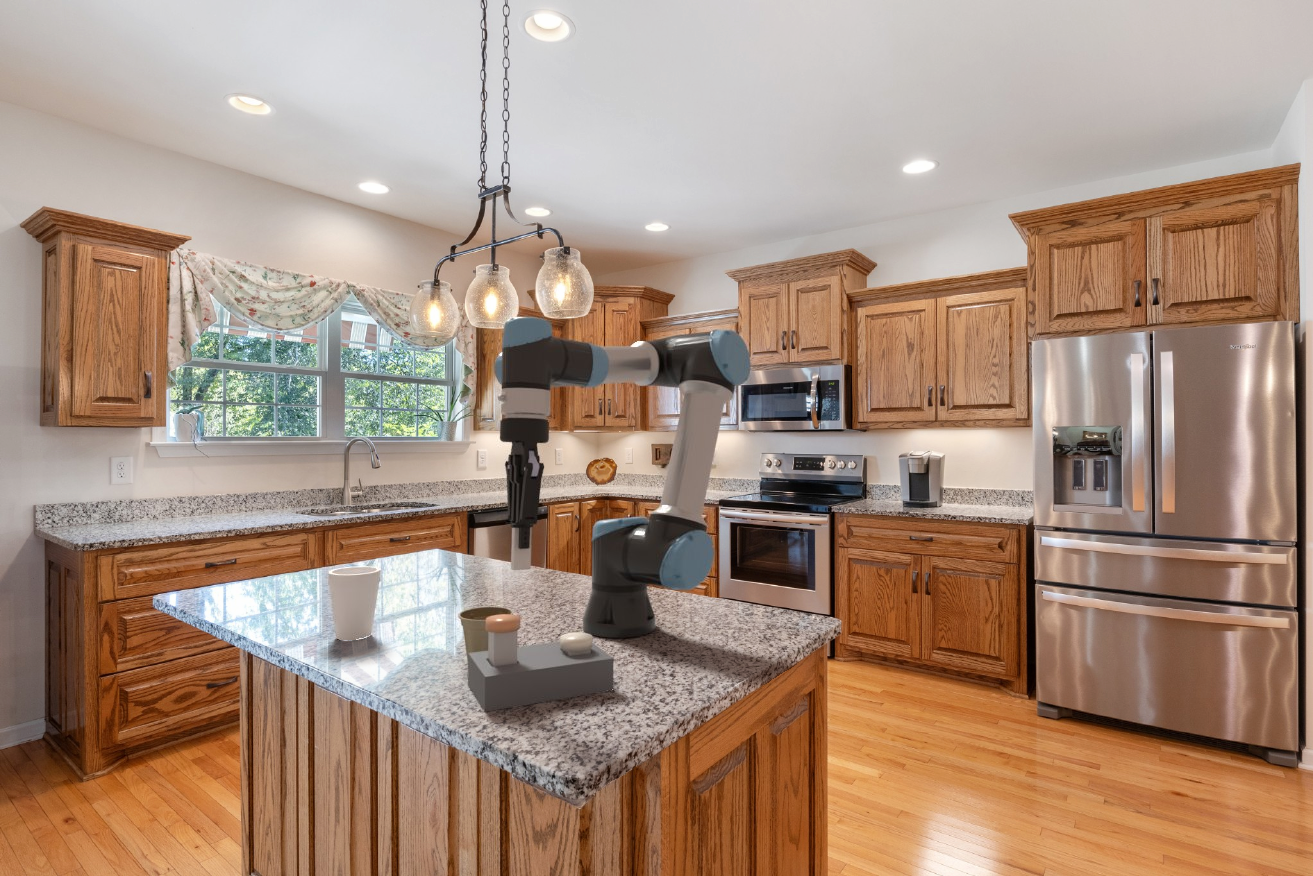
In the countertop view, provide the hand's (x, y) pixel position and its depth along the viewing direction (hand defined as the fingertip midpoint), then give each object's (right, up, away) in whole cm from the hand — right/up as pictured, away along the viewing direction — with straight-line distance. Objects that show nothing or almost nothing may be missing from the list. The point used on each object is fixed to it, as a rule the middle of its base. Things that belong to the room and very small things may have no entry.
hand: (520, 568), depth 105 cm
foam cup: (-39, -19, +28) cm, 51 cm away
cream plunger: (+8, -19, +4) cm, 21 cm away
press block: (+3, -19, +2) cm, 19 cm away
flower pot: (-9, -19, +14) cm, 25 cm away
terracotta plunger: (-3, -14, -1) cm, 15 cm away
